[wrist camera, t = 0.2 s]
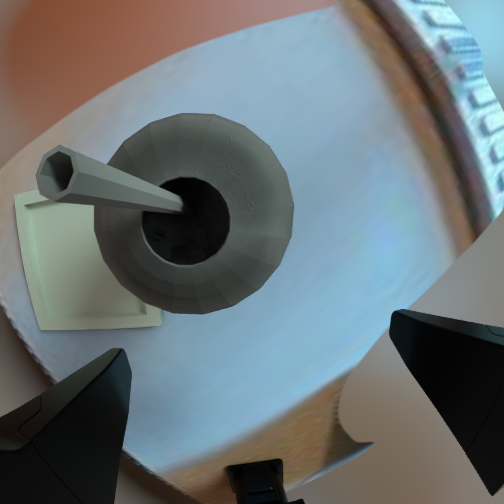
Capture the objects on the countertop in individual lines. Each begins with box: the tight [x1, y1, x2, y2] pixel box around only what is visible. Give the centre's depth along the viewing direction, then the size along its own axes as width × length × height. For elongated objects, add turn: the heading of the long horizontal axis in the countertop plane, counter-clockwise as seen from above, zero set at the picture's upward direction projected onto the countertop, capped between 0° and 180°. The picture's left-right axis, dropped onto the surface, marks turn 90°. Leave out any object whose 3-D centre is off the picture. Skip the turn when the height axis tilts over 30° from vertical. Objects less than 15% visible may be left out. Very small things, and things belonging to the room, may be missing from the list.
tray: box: [14, 189, 164, 330], centre depth 20 cm, size 12×12×1 cm
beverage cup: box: [36, 113, 294, 314], centre depth 12 cm, size 7×7×20 cm
